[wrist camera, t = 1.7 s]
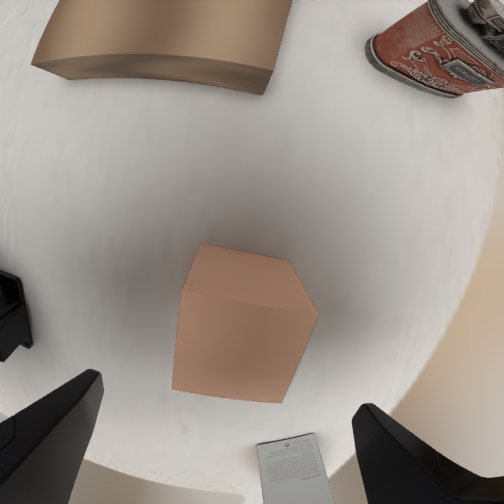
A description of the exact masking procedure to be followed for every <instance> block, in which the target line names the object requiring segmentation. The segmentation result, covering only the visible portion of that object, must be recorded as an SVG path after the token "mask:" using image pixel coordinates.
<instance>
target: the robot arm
mask: <svg viewBox="0 0 504 504" xmlns="http://www.w3.org/2000/svg"><path fill="white" fill-rule="evenodd" d="M19 345H22V346H24V347H26V348H28V349H30V348H31V347H32V346H33V342H32V338H31V334H30V330H29V325H28V320H27V315H26V310H25V305H24V299H23V292H22V285H21V282H20V280H19V279H18V278H17V277H15V276H12V275H9V274H7V273H4V272H2V271H0V362H1V361H2V362H5V360H6V359H7V358H8V357H9V356H10V355H11V354H12V353H13V351H14V350H15V349H16V348H17V347H18V346H19ZM103 393H104V387H103V381H102V375H101V373H100V372H99V371H96V370H93V369H87V370H86V371H84V372H83V373H81V374H79V375H78V376H76V377H75V378H73V379H71V380H70V381H68V382H67V383H65V384H63V385H62V386H60V387H59V388H57V389H55V390H54V391H52V392H51V393H49V394H47V395H46V396H44V397H42V398H41V399H39V400H38V401H36V402H34V403H33V404H31V405H29V406H28V407H26V408H25V409H23V410H21V411H20V412H18V413H16V414H15V416H14V415H13V416H11V417H10V418H8V419H7V420H5V421H3V422H1V423H0V504H68V502H69V499H70V495H71V492H72V489H73V486H74V483H75V480H76V477H77V474H78V471H79V468H80V465H81V463H82V460H83V457H84V454H85V452H86V449H87V446H88V444H89V441H90V439H91V436H92V433H93V430H94V427H95V423H96V419H97V415H98V412H99V408H100V404H101V401H102V397H103ZM352 428H353V434H354V441H355V449H356V455H357V459H358V463H359V467H360V471H361V476H362V479H363V484H364V488H365V492H366V497H367V501H368V504H504V476H501V477H493V478H486V477H481V476H479V475H476V474H475V473H473V472H471V471H468V470H467V469H465V468H463V467H461V466H459V465H458V464H456V463H454V462H453V461H451V460H449V459H448V458H446V457H445V456H443V455H442V454H441V453H439V452H437V451H436V450H435V449H433V448H432V447H430V446H429V445H428V444H426V443H425V442H424V441H422V440H421V439H419V438H418V437H417V436H415V435H414V434H413V433H411V432H410V431H409V430H407V429H406V428H405V427H403V426H402V425H401V424H399V423H398V422H397V421H395V420H394V419H393V418H391V417H390V416H389V415H387V414H386V413H385V412H384V411H382V410H381V409H380V408H378V407H377V406H376V405H374V404H373V403H365V404H362V405H361V406H360V407H359V409H358V410H357V412H356V413H355V415H354V416H353V418H352Z"/></svg>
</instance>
